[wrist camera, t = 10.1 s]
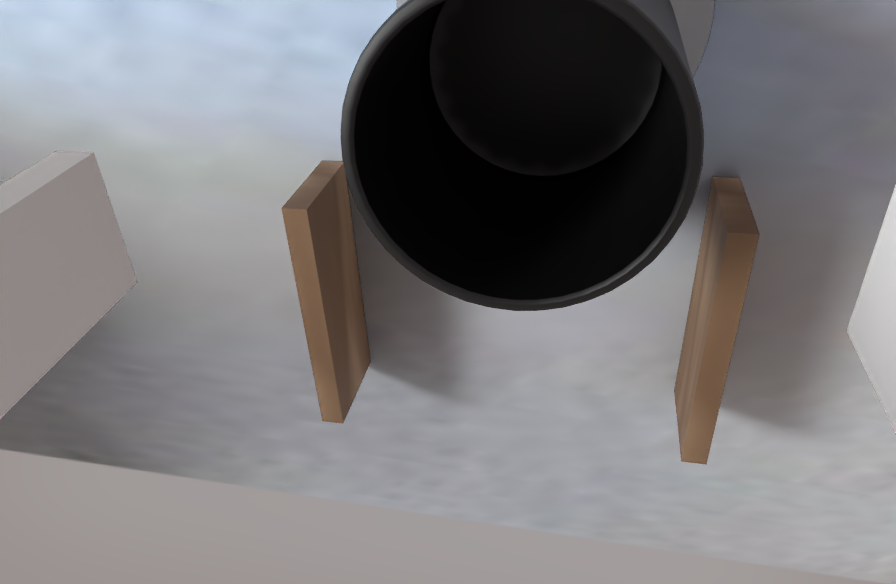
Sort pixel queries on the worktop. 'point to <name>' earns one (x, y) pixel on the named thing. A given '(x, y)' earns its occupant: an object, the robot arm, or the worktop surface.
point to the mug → (524, 144)
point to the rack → (343, 321)
